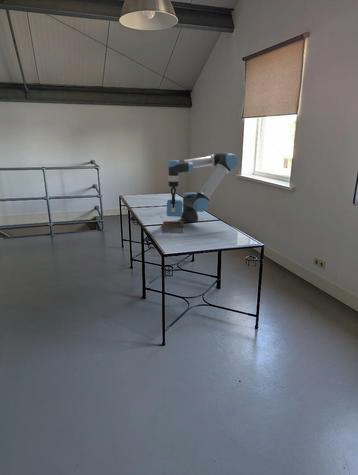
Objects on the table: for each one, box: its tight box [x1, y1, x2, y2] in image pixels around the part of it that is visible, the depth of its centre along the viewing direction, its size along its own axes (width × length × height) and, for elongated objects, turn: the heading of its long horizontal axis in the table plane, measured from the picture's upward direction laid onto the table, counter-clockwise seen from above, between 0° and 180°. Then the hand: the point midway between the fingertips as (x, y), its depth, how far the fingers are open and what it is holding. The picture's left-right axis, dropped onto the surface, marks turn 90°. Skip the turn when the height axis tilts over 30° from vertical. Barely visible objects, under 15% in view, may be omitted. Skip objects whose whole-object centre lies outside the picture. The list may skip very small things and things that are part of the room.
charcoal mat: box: [161, 227, 184, 234], centre depth 249 cm, size 11×16×1 cm
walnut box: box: [161, 220, 184, 229], centre depth 260 cm, size 9×16×3 cm, turn 91°
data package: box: [166, 199, 183, 218], centre depth 256 cm, size 12×4×12 cm, turn 91°
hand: (173, 211), depth 256 cm, fingers closed on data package, 4 cm apart
